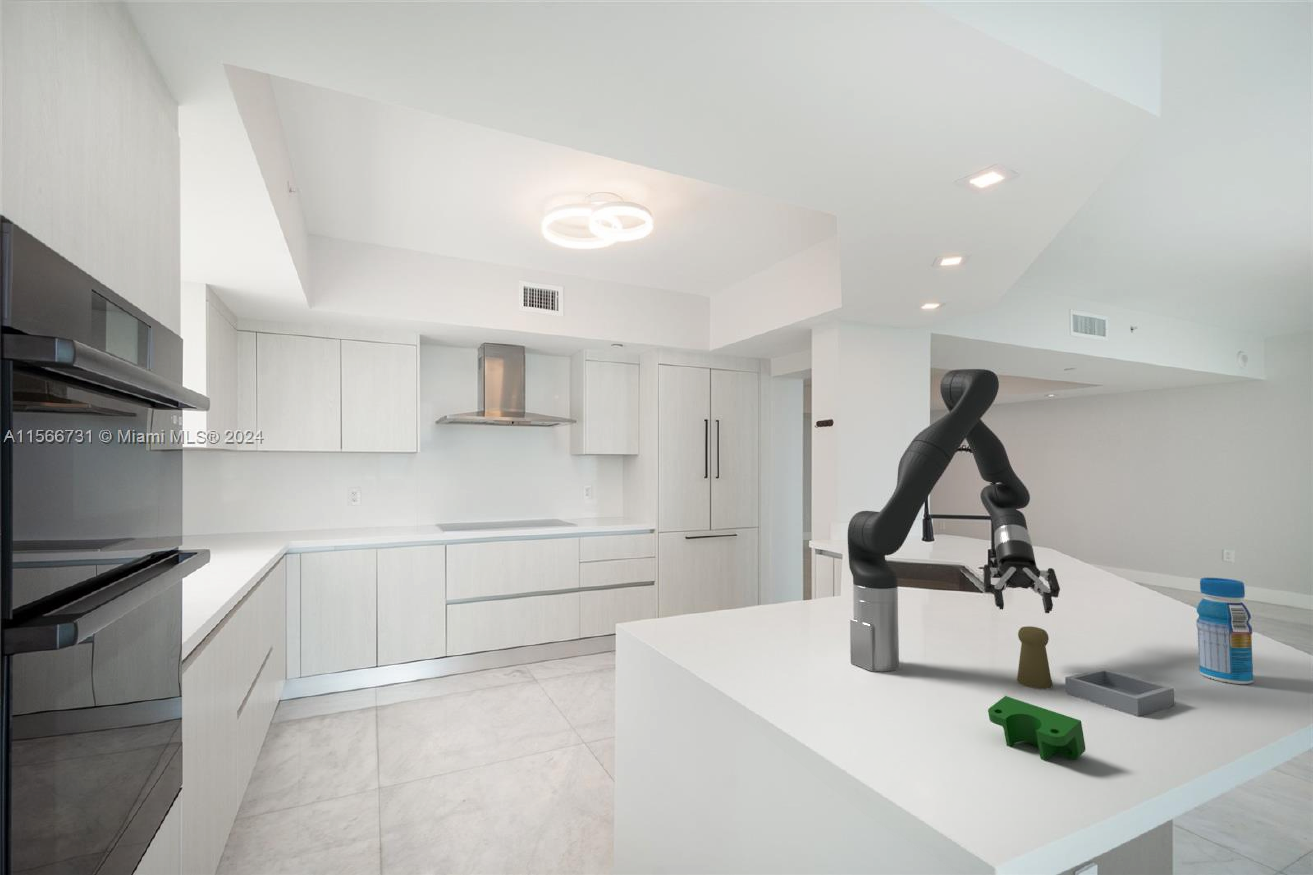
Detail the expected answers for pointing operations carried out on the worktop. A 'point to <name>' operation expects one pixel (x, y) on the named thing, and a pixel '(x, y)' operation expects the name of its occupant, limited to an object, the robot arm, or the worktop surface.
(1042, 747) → the clamp
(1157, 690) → the tray
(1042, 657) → the cork
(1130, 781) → the worktop surface
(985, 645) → the worktop surface
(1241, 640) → the beverage bottle
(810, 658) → the worktop surface
